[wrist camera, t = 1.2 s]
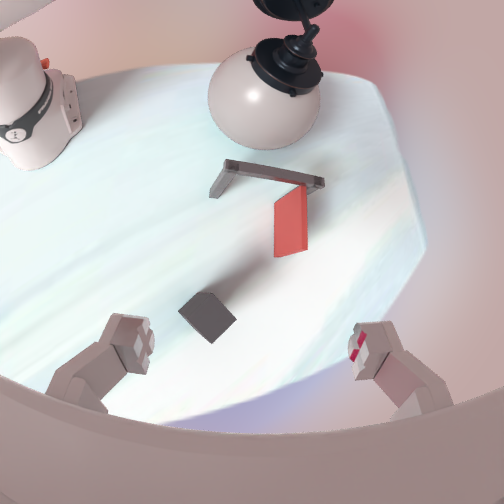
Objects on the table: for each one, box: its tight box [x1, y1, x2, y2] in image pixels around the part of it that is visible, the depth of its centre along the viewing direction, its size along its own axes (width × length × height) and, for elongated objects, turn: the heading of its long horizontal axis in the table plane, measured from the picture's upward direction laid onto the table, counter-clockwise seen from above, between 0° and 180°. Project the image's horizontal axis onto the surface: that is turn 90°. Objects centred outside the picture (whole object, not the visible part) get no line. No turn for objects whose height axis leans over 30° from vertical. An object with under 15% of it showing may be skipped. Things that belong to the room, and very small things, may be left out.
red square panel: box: [274, 185, 308, 257], centre depth 47 cm, size 10×1×10 cm, turn 179°
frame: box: [209, 159, 325, 200], centre depth 46 cm, size 16×2×12 cm, turn 89°
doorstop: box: [178, 293, 237, 344], centre depth 40 cm, size 4×4×12 cm
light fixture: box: [208, 0, 334, 150], centre depth 38 cm, size 20×23×33 cm
